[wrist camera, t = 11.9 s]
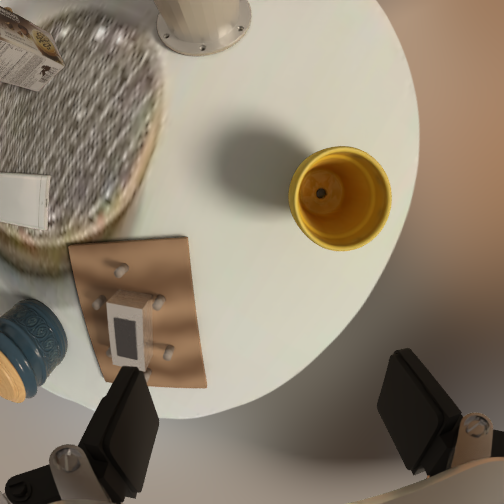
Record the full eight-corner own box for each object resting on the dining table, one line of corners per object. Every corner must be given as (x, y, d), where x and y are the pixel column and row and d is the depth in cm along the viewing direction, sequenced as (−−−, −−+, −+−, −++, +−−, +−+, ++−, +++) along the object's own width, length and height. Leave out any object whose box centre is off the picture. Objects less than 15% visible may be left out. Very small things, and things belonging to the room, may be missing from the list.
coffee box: (25, 59, 28) (-37, 37, 12) (52, 33, 27) (-6, 0, 11) (37, 94, 30) (-34, 76, 14) (66, 66, 29) (-1, 34, 14)
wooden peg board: (71, 244, 36) (59, 251, 33) (187, 237, 37) (182, 243, 33) (107, 378, 43) (100, 390, 39) (207, 384, 43) (205, 398, 40)
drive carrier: (119, 289, 37) (105, 303, 33) (152, 294, 38) (141, 309, 33) (122, 347, 40) (112, 365, 35) (153, 354, 40) (144, 372, 36)
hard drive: (-5, 221, 34) (43, 231, 35) (-3, 172, 32) (46, 175, 33) (1, 219, 35) (49, 229, 36) (3, 171, 33) (52, 175, 34)
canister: (69, 371, 43) (25, 433, 26) (18, 341, 41) (-31, 390, 24) (70, 315, 39) (10, 378, 22) (16, 285, 38) (-49, 329, 21)
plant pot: (343, 241, 38) (373, 263, 28) (269, 219, 37) (279, 236, 27) (366, 167, 35) (404, 168, 26) (293, 140, 34) (311, 129, 25)
